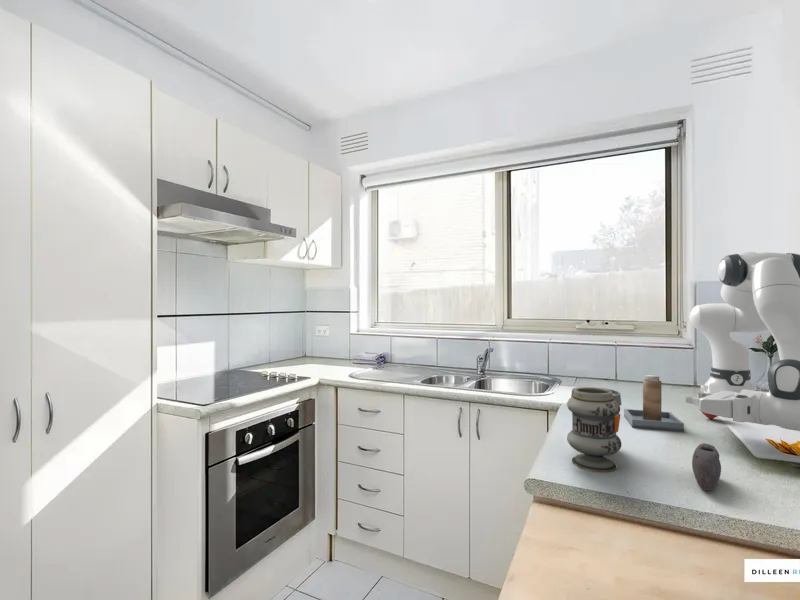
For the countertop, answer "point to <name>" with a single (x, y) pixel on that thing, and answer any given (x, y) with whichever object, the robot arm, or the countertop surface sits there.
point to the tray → (666, 421)
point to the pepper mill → (652, 398)
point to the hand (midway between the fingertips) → (692, 397)
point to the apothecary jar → (593, 428)
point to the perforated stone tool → (706, 466)
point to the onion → (709, 415)
